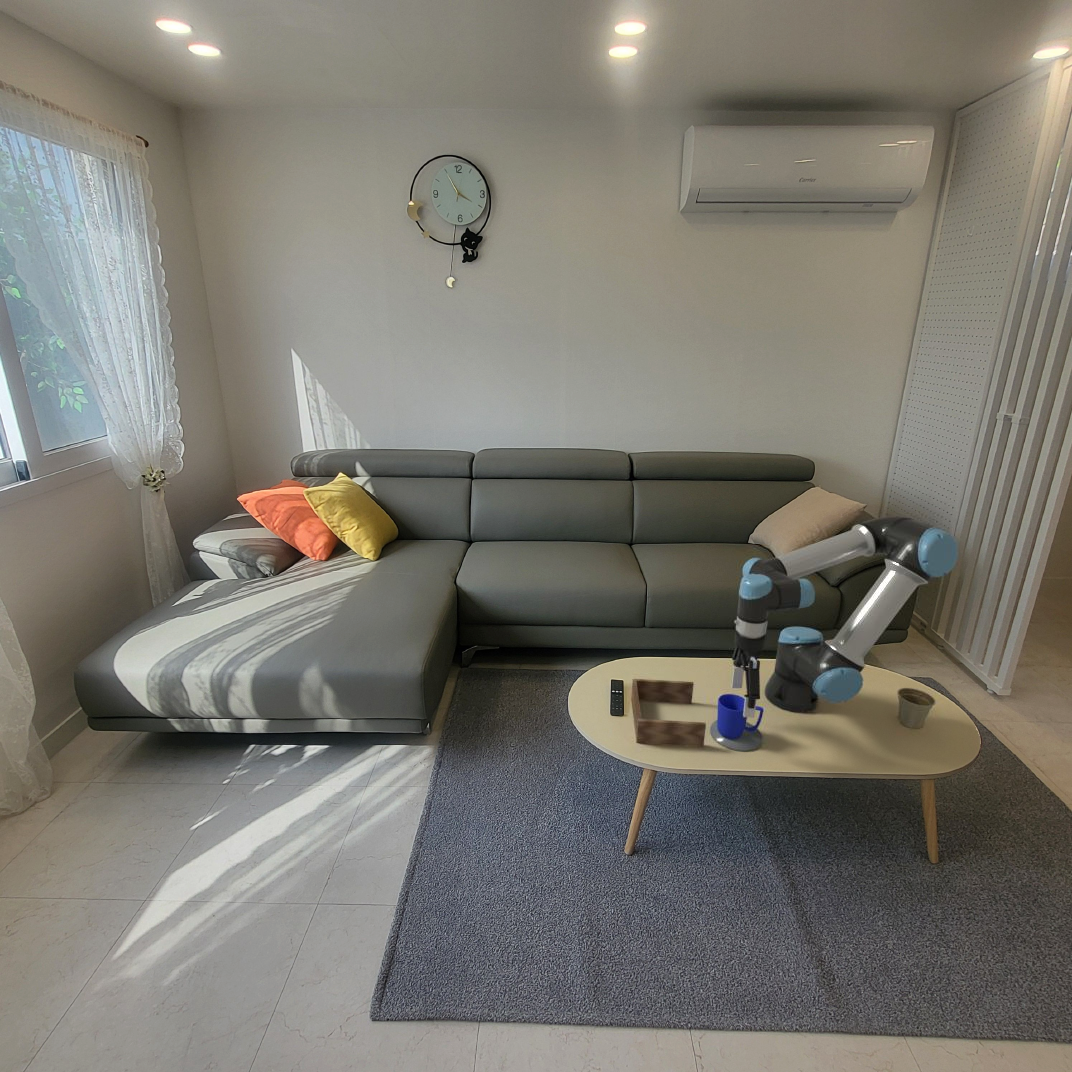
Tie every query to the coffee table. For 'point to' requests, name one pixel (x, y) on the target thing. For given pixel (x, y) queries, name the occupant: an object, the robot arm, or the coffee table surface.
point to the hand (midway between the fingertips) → (742, 701)
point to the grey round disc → (738, 739)
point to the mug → (733, 716)
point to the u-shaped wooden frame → (665, 729)
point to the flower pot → (914, 706)
